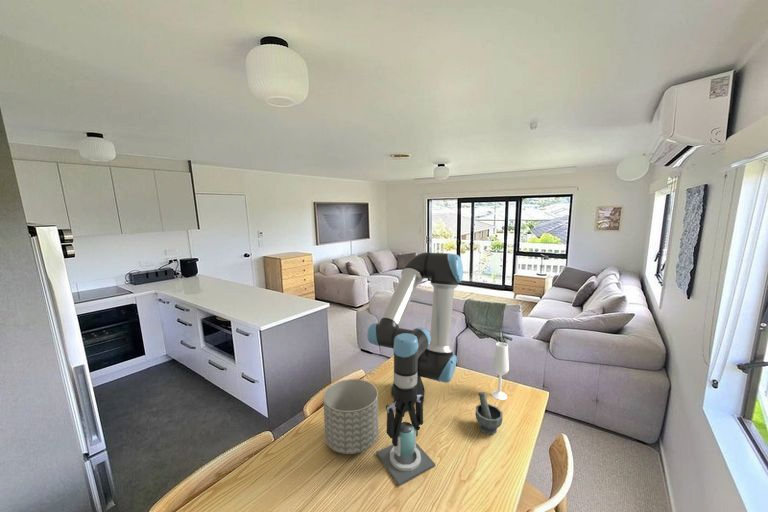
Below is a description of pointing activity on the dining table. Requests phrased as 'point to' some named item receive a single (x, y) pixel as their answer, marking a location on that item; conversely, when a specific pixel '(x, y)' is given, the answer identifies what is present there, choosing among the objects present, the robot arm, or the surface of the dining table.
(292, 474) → the dining table surface
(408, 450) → the teal and grey peg
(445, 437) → the dining table surface
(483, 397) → the mortar and pestle
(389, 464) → the holder
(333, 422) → the planter
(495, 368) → the champagne flute
